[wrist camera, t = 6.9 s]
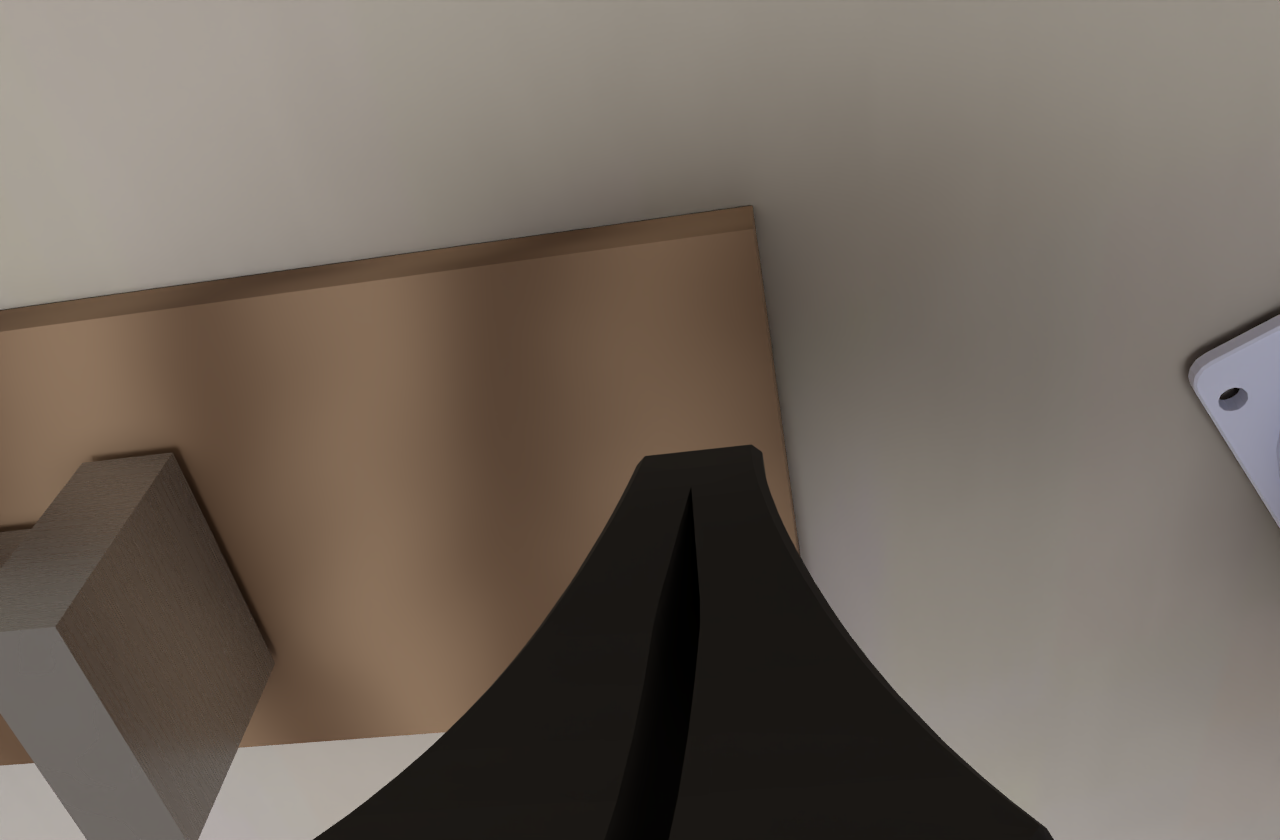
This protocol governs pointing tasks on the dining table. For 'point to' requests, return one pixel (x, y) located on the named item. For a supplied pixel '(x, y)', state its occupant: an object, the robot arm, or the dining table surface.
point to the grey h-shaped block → (127, 651)
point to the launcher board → (404, 439)
